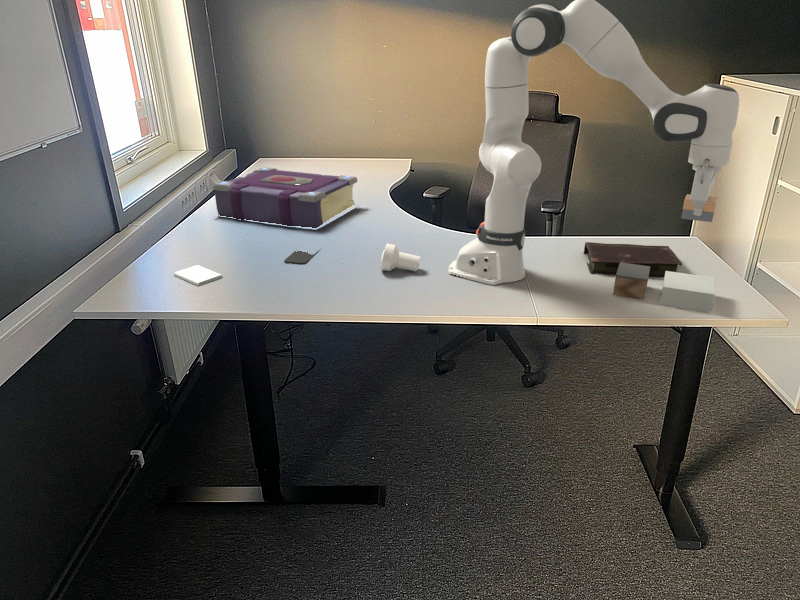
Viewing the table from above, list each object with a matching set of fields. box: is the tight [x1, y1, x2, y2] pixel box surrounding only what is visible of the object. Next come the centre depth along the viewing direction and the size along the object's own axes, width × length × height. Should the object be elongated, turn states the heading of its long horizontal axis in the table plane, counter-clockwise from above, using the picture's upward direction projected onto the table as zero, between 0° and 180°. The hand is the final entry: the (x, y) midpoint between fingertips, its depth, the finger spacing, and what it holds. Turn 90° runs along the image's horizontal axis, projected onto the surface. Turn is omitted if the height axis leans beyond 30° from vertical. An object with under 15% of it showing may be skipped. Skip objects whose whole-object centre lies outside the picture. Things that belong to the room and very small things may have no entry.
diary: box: [583, 241, 684, 279], centre depth 183 cm, size 19×25×5 cm
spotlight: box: [380, 242, 421, 272], centre depth 181 cm, size 8×11×8 cm
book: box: [212, 167, 358, 228], centre depth 234 cm, size 33×45×14 cm
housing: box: [680, 193, 718, 223], centre depth 151 cm, size 5×7×5 cm
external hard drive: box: [173, 264, 223, 287], centre depth 178 cm, size 2×8×12 cm
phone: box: [283, 250, 314, 265], centre depth 194 cm, size 7×1×15 cm
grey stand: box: [659, 271, 716, 313], centre depth 161 cm, size 12×12×5 cm
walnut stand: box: [612, 262, 650, 301], centre depth 166 cm, size 8×10×6 cm
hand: (698, 211), depth 152 cm, fingers closed on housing, 5 cm apart
